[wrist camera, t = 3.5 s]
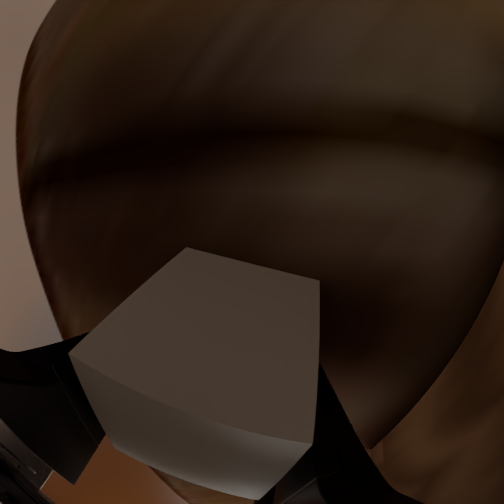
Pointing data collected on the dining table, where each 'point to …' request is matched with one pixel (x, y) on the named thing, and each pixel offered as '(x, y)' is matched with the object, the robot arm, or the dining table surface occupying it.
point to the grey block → (209, 372)
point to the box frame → (456, 423)
